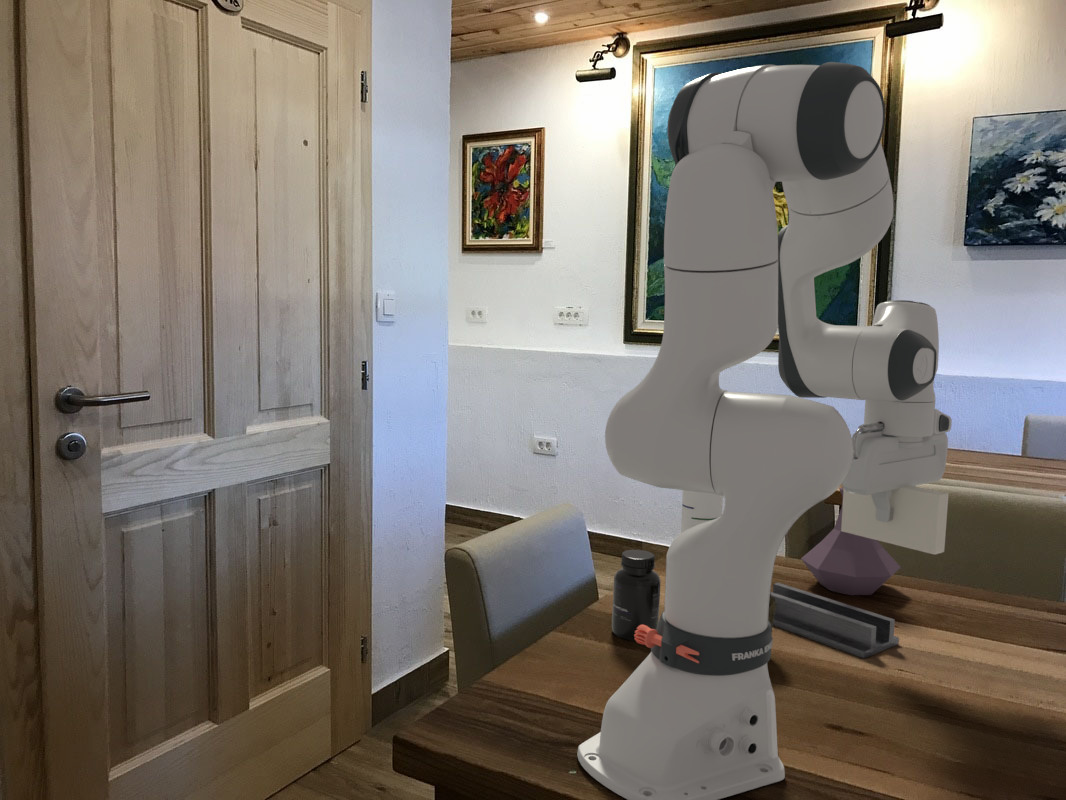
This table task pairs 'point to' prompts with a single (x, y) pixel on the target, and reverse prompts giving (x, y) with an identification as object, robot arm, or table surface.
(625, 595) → the supplement bottle
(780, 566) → the table surface
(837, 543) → the flask
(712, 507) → the cylindrical container
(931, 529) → the door panel
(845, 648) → the floor track
